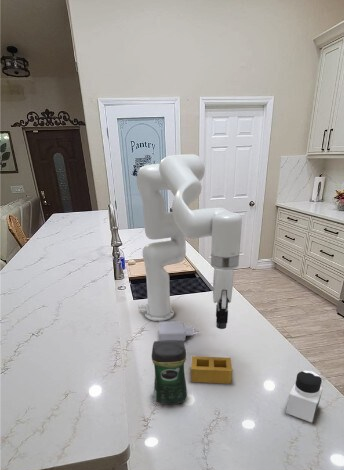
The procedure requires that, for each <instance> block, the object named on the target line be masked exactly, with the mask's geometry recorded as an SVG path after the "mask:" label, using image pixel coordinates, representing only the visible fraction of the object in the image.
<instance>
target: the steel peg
mask: <svg viewBox="0 0 344 470" xmlns="http://www.w3.org/2000/svg"><path fill="white" fill-rule="evenodd" d="M216 305H217V310H218V303H217V302H216ZM220 305H221V304H220ZM215 324H216V326H215V327H216V328H217V329H220V330H224V329H226V328H227V324H228V322H227V323H217V322H216V323H215Z"/></svg>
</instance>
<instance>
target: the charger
mask: <svg viewBox="0 0 344 470" xmlns="http://www.w3.org/2000/svg"><path fill="white" fill-rule="evenodd" d="M158 323H159V328H158V329H159V330H158V333H159V341H164V340H182V341H183V342H184V341H186V336H187V337H189V336H195V335H194V334H195V333H199V332H200V331H199V328H194V327H193V326H185V325H186V324H185V322H184V321H182V320H181V321H180V320H179V321H159V322H158Z"/></svg>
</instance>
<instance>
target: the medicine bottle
mask: <svg viewBox="0 0 344 470" xmlns="http://www.w3.org/2000/svg"><path fill="white" fill-rule="evenodd" d="M322 382H323V381H322V377H321V376H320V375H319V374H318V373H316V372H315V371H311V370H302V371H299V372H298V373H297V374H296V378H295V380H294V383H293V385H292V387H291V389H290V392H289V394H288V398H287V404H286V408H285V409H286V410H285V414H287V415H290V416H292V417H295V418H298V419H300V420H303V421H305V422H309V423H314V420H315V418H316V415H317V412H318V408H319V405H320V401H321V397H322V394H323V390H324V388H323V387H322V386H321V385H322Z"/></svg>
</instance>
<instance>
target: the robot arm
mask: <svg viewBox="0 0 344 470" xmlns="http://www.w3.org/2000/svg"><path fill="white" fill-rule="evenodd" d="M205 168H206V167H205V164H204V161H203V160H202V158H201V157H200V156H199V155H198V154H195V153H190V154H189V153H187V154H185V153H184V154H170V155H166V156H165V157H164V158H163V159H161V160H160V162H159V163H153V164H151V163H150V164H147V165H146V164H145V165H143V166H141V167H140V168H139V169H138V171H137V175H136V184H137V189H138V192H139V195H140V197H141V198H140V199H141V201H142V212H143V213H142V214H143V227H144V234H145V236H146V238H148V239H149V240H154V241H155V240H162V239H163V240H164V239H169V238H170V240H165V241H163V240H162V241H156V242H151V243H148V244H146V245H145V246H144V247H143V249H142V259H143V264H144V269H145V278H146V293H147V295H146V296H147V303H146V304H138V308H137V309H138V310H139V311H140V312H144V317H145V318H146V319H148V320H149V321H154V322H165V321H168V320H169V319H172V318H173V317H174V315H175V311H174V309H172V308H171V290H170V289H171V286H170V285H171V283H170V274H169V273H168V271H167V270H166V269H165V268H164V267H166V266H170V265H175V264H180V263H182V262H184V261H185V258H186V253H187V251H186V250H187V249H186V241H187V240H186V238H188V239H191V240H192V239H193V240H194V239H202V238H208V237H211V248H210V249H211V252H210V267H212V268H213V278H212V279H213V282H212V301H213V303H214V304H216V305H215V306H216V307H215V317H216V318H215V319H216V321H215V322H216V323H227V324H228V322H229V321H228V318H229V304H230V303H232V299H233V298H232V296H233V287H234V277H235V276H234V275H235V269H237V268H239V264H240V251H241V238H242V225H243V218H242V216H241V214H239V213H237V212H233V211H229V210H228V209H227V208H225V207H217V206H216V207H206V208H197V209H190V208H189V206H190V205H191V204H193V203H194V202H195V201H197V200H198V198H200V195H201V193H202V183H201V181H202V180H203V178H204V176H205V172H206V169H205ZM161 191H170V192H171V193H172V195H173V200H172V204H171V208H172V209H171V211H168V212H167V208H166V207H167V204H166V199H165V197H164V196H163V194H162V192H161ZM217 303H218V310H217ZM220 304H221V305H220Z"/></svg>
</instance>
